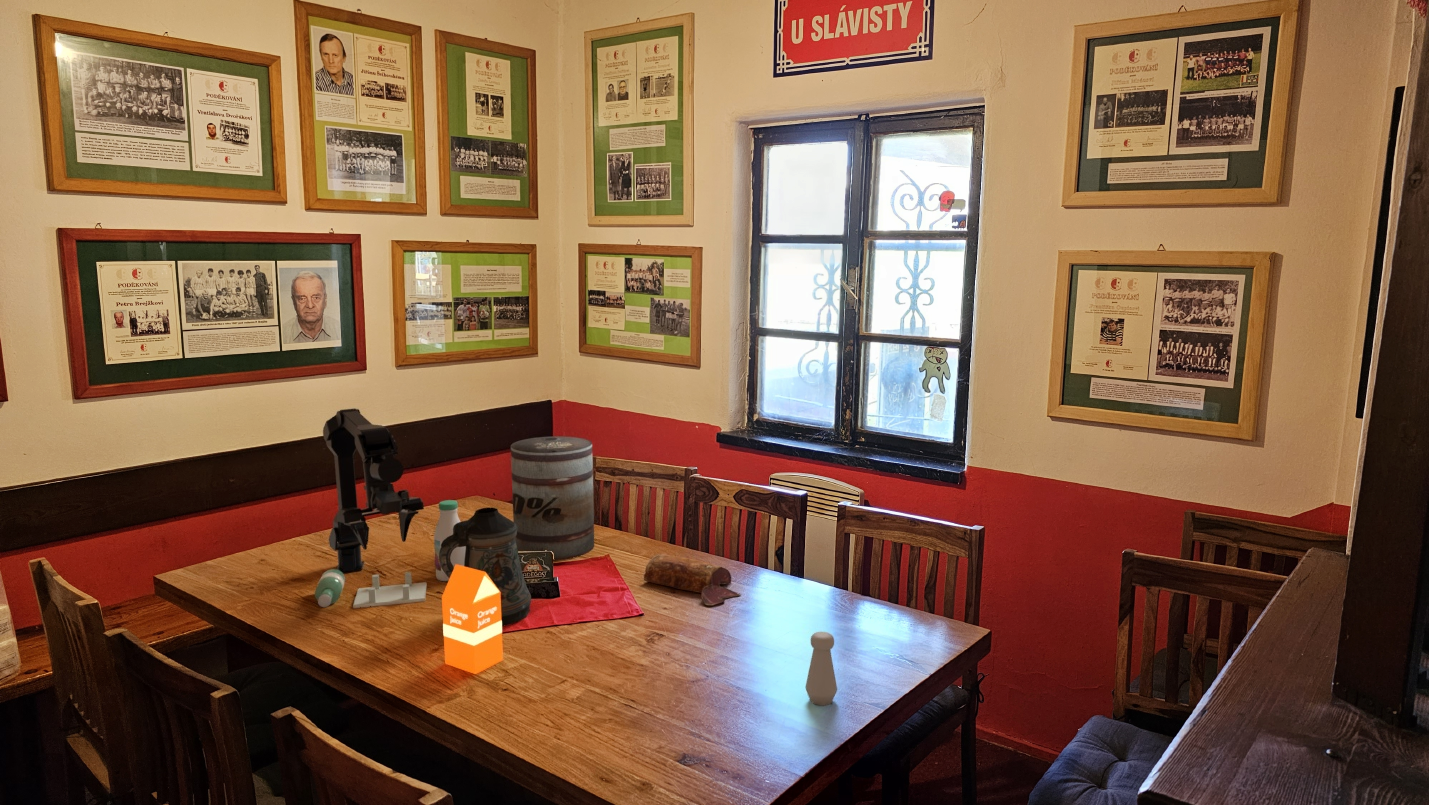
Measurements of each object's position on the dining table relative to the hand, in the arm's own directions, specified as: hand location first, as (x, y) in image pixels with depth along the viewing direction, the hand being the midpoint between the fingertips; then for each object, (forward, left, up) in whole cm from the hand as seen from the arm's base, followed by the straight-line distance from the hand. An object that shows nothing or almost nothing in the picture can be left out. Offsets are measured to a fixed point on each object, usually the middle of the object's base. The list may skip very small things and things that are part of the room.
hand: (384, 545), depth 210 cm
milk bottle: (-13, +14, -14) cm, 24 cm away
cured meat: (+11, +73, -15) cm, 76 cm away
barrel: (-30, +42, -14) cm, 54 cm away
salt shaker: (+73, +81, -14) cm, 110 cm away
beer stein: (+16, +23, -14) cm, 32 cm away
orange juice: (+39, +19, -14) cm, 46 cm away
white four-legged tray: (-3, 0, -14) cm, 14 cm away
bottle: (-3, -14, -14) cm, 20 cm away
